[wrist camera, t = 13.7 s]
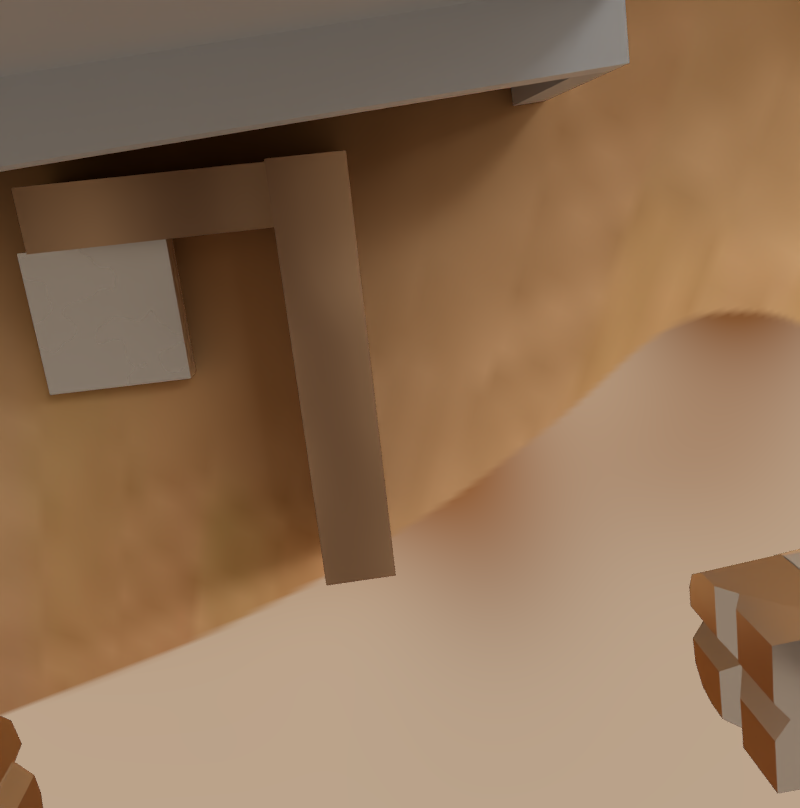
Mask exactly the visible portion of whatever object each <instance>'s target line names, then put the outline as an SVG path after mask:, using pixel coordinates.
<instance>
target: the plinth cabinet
mask: <svg viewBox="0 0 800 808" xmlns="http://www.w3.org/2000/svg"><path fill="white" fill-rule="evenodd" d="M628 63H630V62H629V48H628V34H627V20H626V5H625V0H0V172H1V171H7V170H13V169H19V168H25V167H32V166H38V165H44V164H50V163H56V162H62V161H68V160H74V159H80V158H86V157H92V156H98V155H104V154H110V153H116V152H123V151H129V150H135V149H141V148H147V147H153V146H159V145H165V144H171V143H177V142H183V141H189V140H195V139H201V138H207V137H213V136H220V135H226V134H232V133H238V132H244V131H250V130H256V129H262V128H268V127H274V126H280V125H286V124H292V123H298V122H304V121H310V120H317V119H323V118H329V117H335V116H341V115H347V114H353V113H359V112H365V111H371V110H377V109H383V108H389V107H395V106H401V105H407V104H414V103H420V102H426V101H432V100H438V99H444V98H450V97H456V96H462V95H468V94H474V93H480V92H486V91H492V90H498V89H504V88H511V92H512V101H513V106H516V105H522V104H528V103H534V102H540V101H546V100H548V99H550V98H553V97H555V96H557V95H559V94H561V93H564V92H566V91H568V90H570V89H573V88H575V87H577V86H579V85H582V84H584V83H586V82H588V81H590V80H593V79H595V78H597V77H599V76H602V75H604V74H606V73H608V72H611V71H613V70H615V69H617V68H619V67H622V66H624V65H626V64H628Z"/></svg>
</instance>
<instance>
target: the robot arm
mask: <svg viewBox="0 0 800 808" xmlns="http://www.w3.org/2000/svg"><path fill="white" fill-rule="evenodd" d="M689 588H690V604H691V607H692V608H693V609H694V610H695V612H696V613H697V614H698V615H699V616H700V618H701V619H702V620H703V622H702V624H701V626H700V627H699V629H698V631H697V632H696V634H695V636H694V637H693V643H694V653H695V661H696V666H697V669H698V672H699V675H700V679H701V682H702V685H703V688H704V690H705V692H706V693H707V695H708V697H709V699H710V701H711V703H712V704H713V706H714V708H715V709H716V710H717V712H718V713H719V715H720V716H721V717H722V719H724V720H726V721H728V722H730V723H732V724H735V725H737V726H739V727H741V728H742V734H743V748H744V749H745V750H746V752H747V753H748V754H749V756H750V757H751V758H752V760H753V761H754V762H755V764H756V765H757V766H758V768H759V769H760V770H761V772H762V773H763V774H764V776H765V777H766V779H767V780H768V781H769V783H770V784H771V785H772V787H773V788H774V789H775V791H776V792H777V793H783V792H789V791H794V790H800V549H798V550H793V551H789V552H785V553H781V554H777V555H774V556H771V557H767V558H762V559H758V560H753V561H749V562H744V563H740V564H736V565H731V566H727V567H723V568H718V569H714V570H710V571H705V572H700V573H696V574H692V576H691V582H690V587H689ZM21 744H22V743H21V741H20V739H19V737H18V734H17V732H16V730H15V728H14V726H13V723H12V721H11V720H9V719H6V718H4V717H2V716H0V808H43V804H42V797H41V792H40V789H39V786H38V784H37V781H36V778H35V776H34V775H33V774H32V773H30V772H29V771H27V770H26V769H24V768H23V767H21V766H20V765H18V764H17V763H15V760H16V757H17V755H18V752H19V750H20V747H21Z"/></svg>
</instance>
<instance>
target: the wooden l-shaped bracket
mask: <svg viewBox="0 0 800 808" xmlns="http://www.w3.org/2000/svg"><path fill="white" fill-rule="evenodd" d="M11 191H12V195H13V200H14V204H15V208H16V212H17V216H18V221H19V225H20V229H21V233H22V237H23V242H24V246H25V250H26V254H36V253H45V252H54V251H63V250H72V249H81V248H90V247H99V246H109V245H118V244H127V243H136V242H145V241H154V240H163V239H172V238H182V237H191V236H200V235H209V234H218V233H227V232H236V231H245V230H255V229H264V228H273V227H274V230H275V237H276V244H277V250H278V257H279V264H280V271H281V278H282V285H283V291H284V298H285V305H286V312H287V319H288V326H289V332H290V339H291V346H292V353H293V360H294V367H295V373H296V380H297V387H298V394H299V401H300V408H301V414H302V421H303V428H304V435H305V442H306V449H307V455H308V462H309V469H310V476H311V483H312V490H313V496H314V503H315V510H316V517H317V524H318V531H319V537H320V544H321V551H322V558H323V565H324V572H325V578H326V585H331V584H339V583H346V582H353V581H359V580H367V579H374V578H381V577H387V576H395V575H396V574H395V566H394V557H393V548H392V540H391V531H390V523H389V514H388V506H387V497H386V489H385V480H384V472H383V463H382V455H381V446H380V437H379V429H378V420H377V412H376V403H375V395H374V386H373V378H372V369H371V361H370V352H369V343H368V335H367V326H366V318H365V309H364V301H363V292H362V284H361V275H360V267H359V258H358V250H357V241H356V232H355V224H354V215H353V207H352V198H351V190H350V181H349V173H348V164H347V156H346V150H344V151H334V152H325V153H315V154H305V155H296V156H286V157H276V158H267V159H264V162H257V163H247V164H237V165H228V166H218V167H208V168H199V169H189V170H179V171H170V172H160V173H150V174H141V175H131V176H121V177H112V178H102V179H92V180H83V181H73V182H63V183H54V184H44V185H34V186H25V187H15V188H11Z"/></svg>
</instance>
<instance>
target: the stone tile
mask: <svg viewBox="0 0 800 808" xmlns="http://www.w3.org/2000/svg"><path fill="white" fill-rule="evenodd" d="M17 257H18V261H19V265H20V270H21V274H22V278H23V282H24V287H25V291H26V295H27V299H28V304H29V308H30V312H31V316H32V321H33V325H34V329H35V333H36V338H37V342H38V346H39V350H40V355H41V359H42V363H43V367H44V372H45V376H46V380H47V384H48V389H49V393H50V395H55V394H63V393H71V392H80V391H88V390H97V389H105V388H114V387H122V386H131V385H139V384H148V383H156V382H165V381H173V380H181V379H190V378H192V376H193V375H194V374H195V372H196V367H195V362H194V356H193V350H192V345H191V339H190V334H189V328H188V323H187V317H186V311H185V306H184V300H183V295H182V289H181V283H180V278H179V272H178V267H177V261H176V256H175V250H174V244H173V239H163V240H154V241H145V242H136V243H127V244H118V245H109V246H99V247H90V248H81V249H72V250H63V251H54V252H45V253H36V254H26V252H24V253H18V254H17Z"/></svg>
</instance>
